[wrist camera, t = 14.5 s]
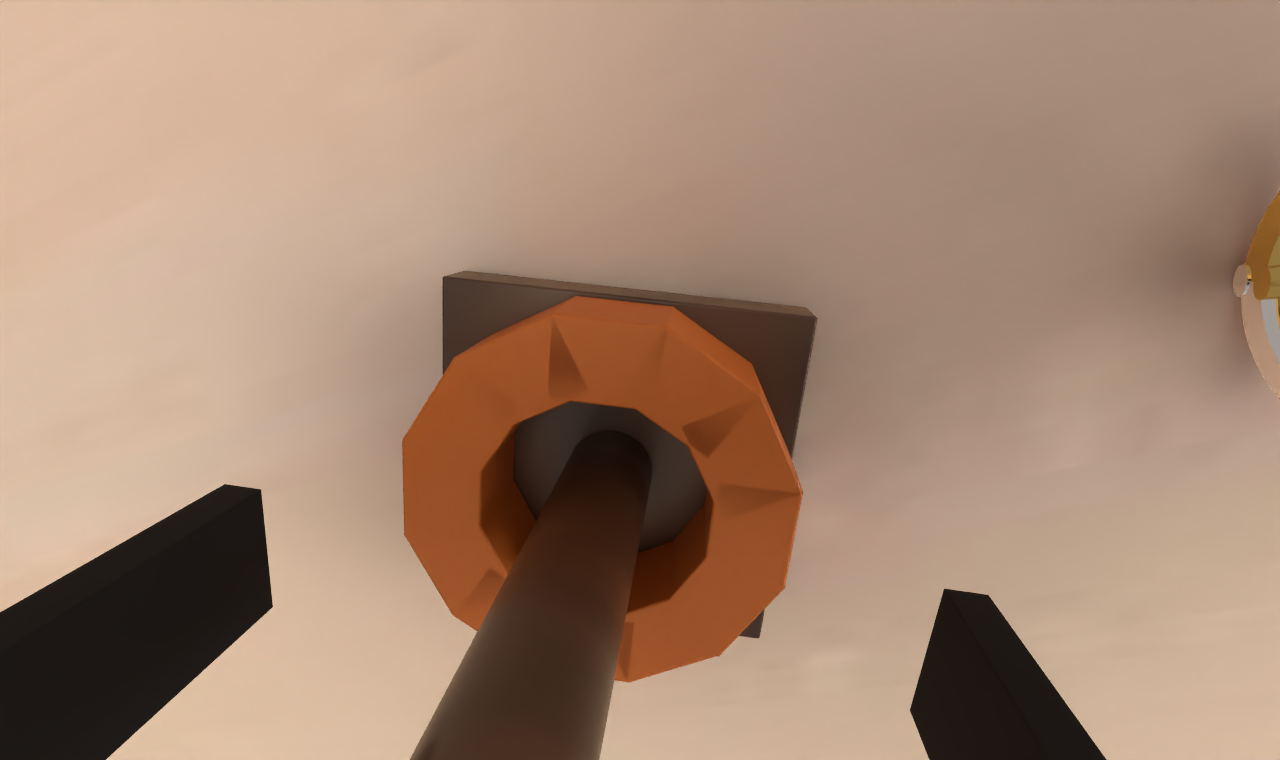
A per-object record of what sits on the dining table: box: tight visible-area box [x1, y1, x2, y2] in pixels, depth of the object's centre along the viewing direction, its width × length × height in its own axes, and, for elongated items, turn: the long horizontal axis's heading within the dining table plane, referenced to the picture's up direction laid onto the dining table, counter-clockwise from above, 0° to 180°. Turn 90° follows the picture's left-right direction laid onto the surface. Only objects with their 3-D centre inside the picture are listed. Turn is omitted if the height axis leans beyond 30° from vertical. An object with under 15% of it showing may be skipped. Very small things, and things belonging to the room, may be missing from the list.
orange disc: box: [402, 296, 803, 682], centre depth 16 cm, size 10×10×3 cm
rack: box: [410, 271, 817, 760], centre depth 13 cm, size 10×10×12 cm
